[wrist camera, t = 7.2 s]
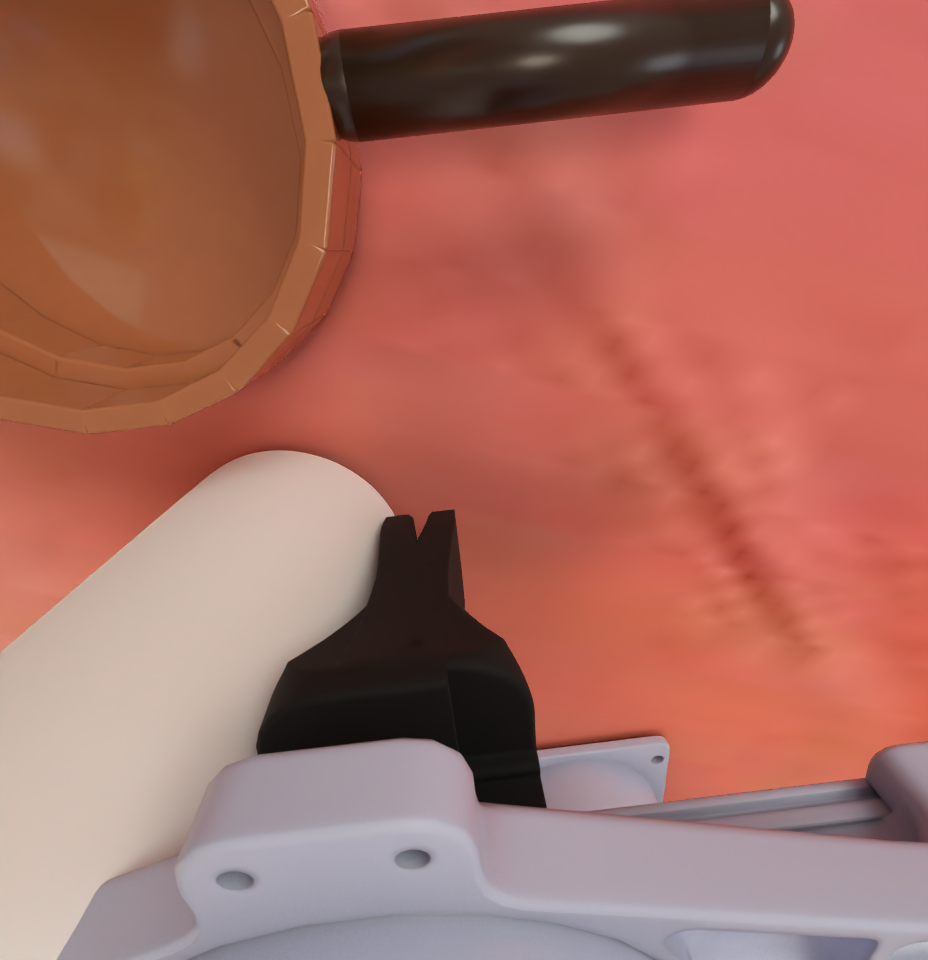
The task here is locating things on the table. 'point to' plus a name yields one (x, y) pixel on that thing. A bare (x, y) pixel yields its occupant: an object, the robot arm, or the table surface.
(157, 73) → the pan
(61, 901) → the can
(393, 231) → the table surface
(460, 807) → the robot arm
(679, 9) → the pan handle
